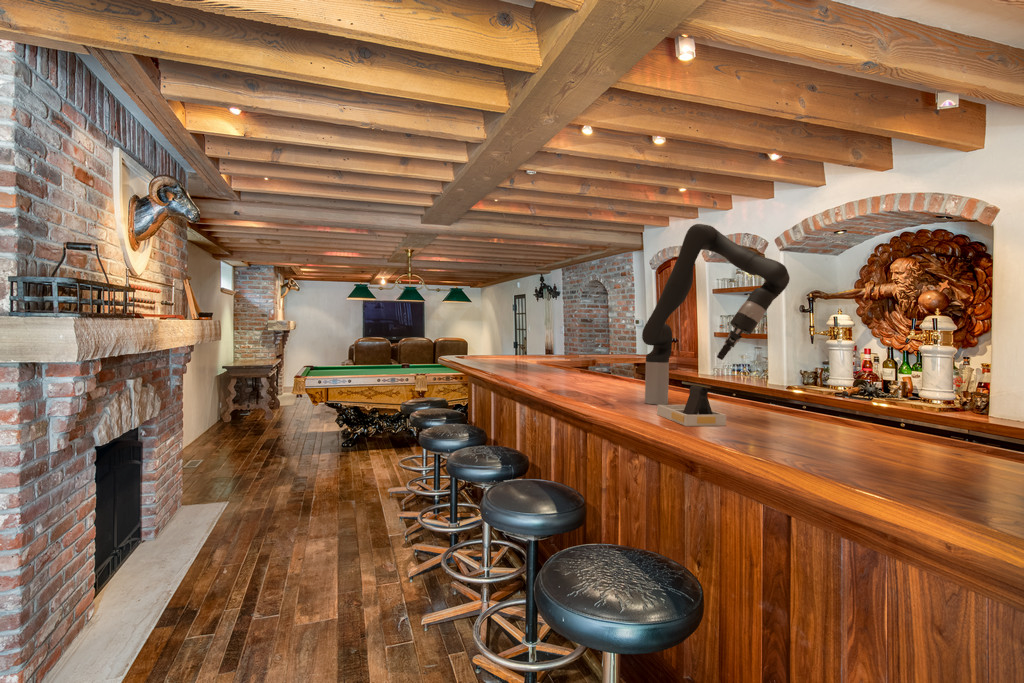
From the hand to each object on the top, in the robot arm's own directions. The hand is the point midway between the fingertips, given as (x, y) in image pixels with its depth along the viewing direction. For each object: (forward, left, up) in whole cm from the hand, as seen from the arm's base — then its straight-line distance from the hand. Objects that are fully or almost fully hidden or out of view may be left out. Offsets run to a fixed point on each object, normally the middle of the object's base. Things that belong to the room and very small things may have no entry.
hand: (720, 357), depth 165 cm
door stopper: (+5, -10, -22) cm, 24 cm away
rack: (0, -10, -21) cm, 24 cm away
